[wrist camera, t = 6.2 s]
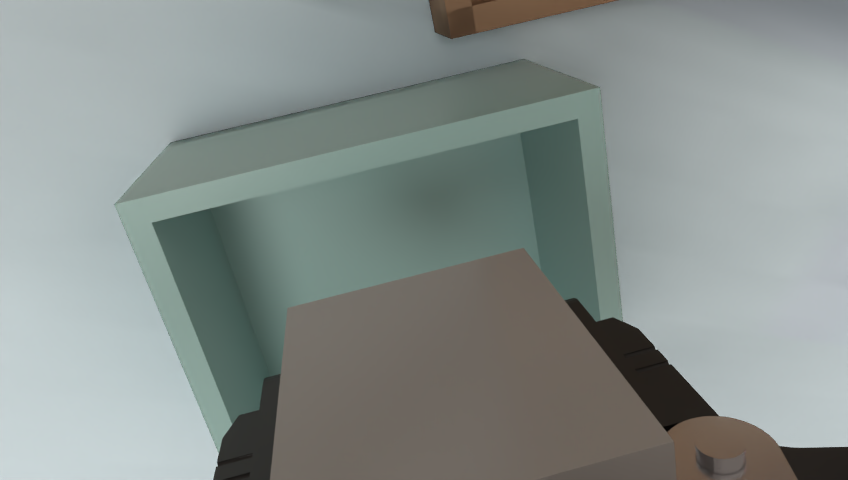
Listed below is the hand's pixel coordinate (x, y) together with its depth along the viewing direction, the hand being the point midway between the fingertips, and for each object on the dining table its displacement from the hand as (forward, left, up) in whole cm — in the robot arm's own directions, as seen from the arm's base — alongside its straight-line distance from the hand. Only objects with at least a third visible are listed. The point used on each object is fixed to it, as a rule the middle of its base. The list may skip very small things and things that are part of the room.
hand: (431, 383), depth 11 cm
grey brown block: (0, 0, 0) cm, 0 cm away
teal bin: (+2, 0, -11) cm, 11 cm away
